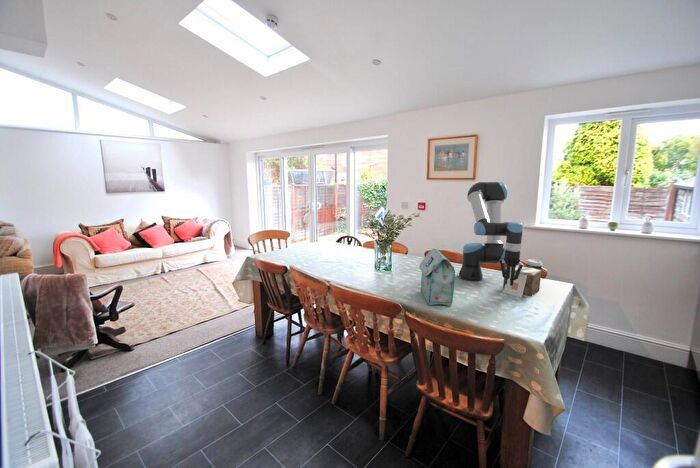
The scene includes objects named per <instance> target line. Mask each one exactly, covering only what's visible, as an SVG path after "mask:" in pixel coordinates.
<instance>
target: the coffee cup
mask: <svg viewBox="0 0 700 468" xmlns="http://www.w3.org/2000/svg"><path fill="white" fill-rule="evenodd" d="M543 264H544V263H543V262H542V260H539V259H531V258H529V259H527V260H526V261H525V267H528V268H533V269H538V270H542V268H543V266H544V265H543Z"/></svg>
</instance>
